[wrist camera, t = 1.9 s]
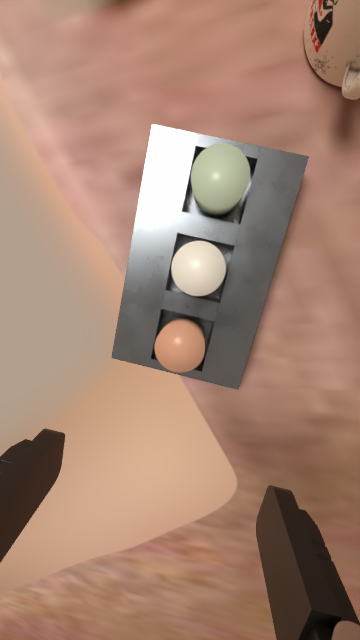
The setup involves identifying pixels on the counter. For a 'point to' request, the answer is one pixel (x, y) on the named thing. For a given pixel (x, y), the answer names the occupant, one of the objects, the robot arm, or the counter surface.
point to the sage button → (219, 178)
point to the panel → (221, 231)
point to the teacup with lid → (335, 43)
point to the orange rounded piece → (180, 344)
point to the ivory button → (198, 268)
